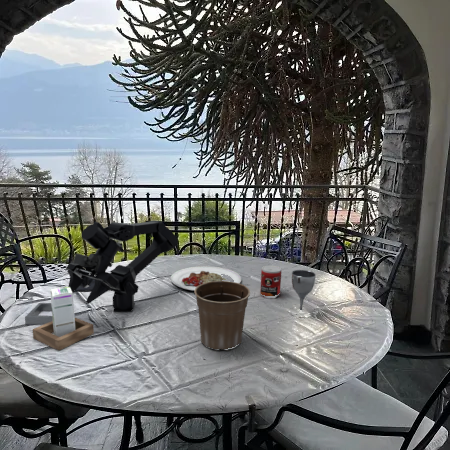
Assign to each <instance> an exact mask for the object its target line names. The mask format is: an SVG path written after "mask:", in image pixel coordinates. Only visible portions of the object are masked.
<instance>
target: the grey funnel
mask: <svg viewBox="0 0 450 450" xmlns="http://www.w3.org/2000/svg"><path fill="white" fill-rule="evenodd" d="M315 282H316V273H315V272H313V271H311V270H308V269H294V270H293V271H292V272H291V284H292V285H291V286H292V289H293V290H294V292H295V293H296V294H297V295H298V297H299V305H300V306H299V309H300V310H303V305H304V300H305V297H307V296H308V295H309V294H310V293H312V291H313V290H314V286H315Z"/></svg>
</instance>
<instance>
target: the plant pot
mask: <svg viewBox="0 0 450 450" xmlns="http://www.w3.org/2000/svg"><path fill="white" fill-rule="evenodd" d="M194 295H195V296H196V304H197V308H198V319H199V330H200V341H201V344H202V343H203V344H204V345H205V347H206V346H207V347H210V348H213V349H221V350H223V349H228V348H232V347H235V346H236V345H238V344H239V343H240V342H241V343H242V339H243V331H244V325H245V324H244V322H245V315H246V314H245V313H246V308H247V307H248V301H249V297H250V295H251V290H250V289H249V287H248V286H246V285H244V284H242V283H240V284H239V283H235V282H230V281H211V282H207V283H204V284H201V285H199V286H197V287H196V288H195V291H194ZM241 343H240V344H241ZM203 344H202V345H203ZM204 345H203V346H204ZM207 347H206V348H207ZM210 348H209V349H210Z"/></svg>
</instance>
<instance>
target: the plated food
mask: <svg viewBox="0 0 450 450" xmlns="http://www.w3.org/2000/svg"><path fill="white" fill-rule="evenodd" d="M221 274H225V275H228V276H230V277H231V278H232V279H233V280H234V282H235V283H239V284H241V282H242V277H241V275H240V274H239V273H238V272H236V271H233V270H231V269H228V268H225V267H218V266H206V265H205V266H203V265H202V266H192V267H191V266H190V267H186V268H182V269H179V270H176V271H175V272H173V273H172V274H171V276H170V281H171V283H173V284H174V285H175V286H177V287H178V288H180V289H184V290H188V291H192V292H193V291H195V288H196V287H197V286H199V285H201V284H204V283H207V282H211V281H222V280H227V279H225V278H223V277H222V276H223V275H221Z"/></svg>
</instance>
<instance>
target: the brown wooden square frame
mask: <svg viewBox="0 0 450 450" xmlns="http://www.w3.org/2000/svg"><path fill="white" fill-rule="evenodd" d="M94 329H95V328H94V324H93V323H90V322H88V321H85V320H82V319H81V318H77V317H75V330H74V331H72V332H70V333H68V334H66V335H63V336H61V337H58V336H56V335H54V329H53V321H51V322H49V323H46V324H40V325H39V326H37V327H34V328H32V336H33V337H32V338H33V339H34V340H35V341H38V342H40V343H42V344H43V345H46V346H48V347H50V348H52V349H54V350H56V351H62V350H64V349H65V348H67V347H69V346H72V345H74V344H75V343H78V342H80V341H82V340H84V339H86V338H88V337H89V336H92V335H94V334H95V333H94V332H95V331H94Z"/></svg>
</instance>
